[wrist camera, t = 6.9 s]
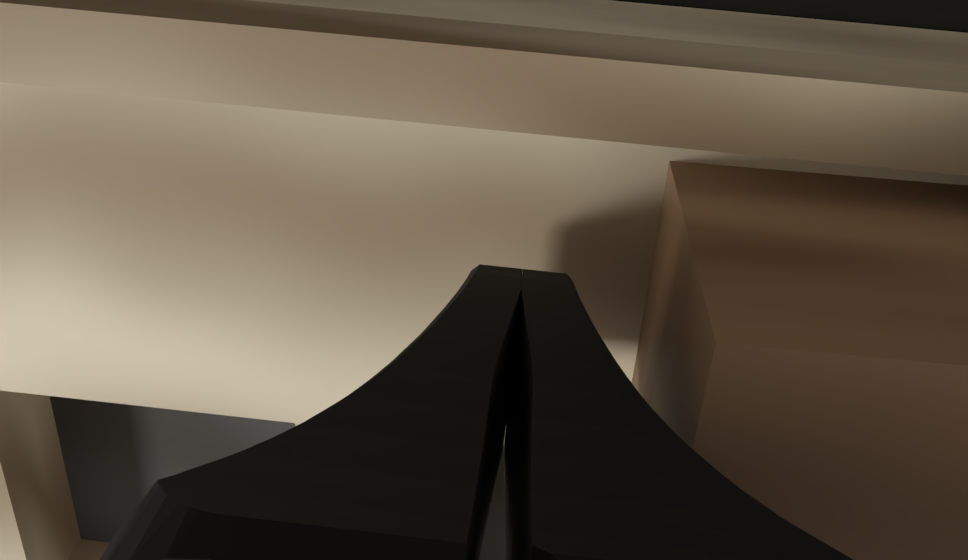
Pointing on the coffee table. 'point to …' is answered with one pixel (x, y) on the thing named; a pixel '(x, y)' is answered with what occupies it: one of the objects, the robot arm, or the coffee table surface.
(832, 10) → the coffee table surface
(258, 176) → the trap deck
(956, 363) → the walnut block
